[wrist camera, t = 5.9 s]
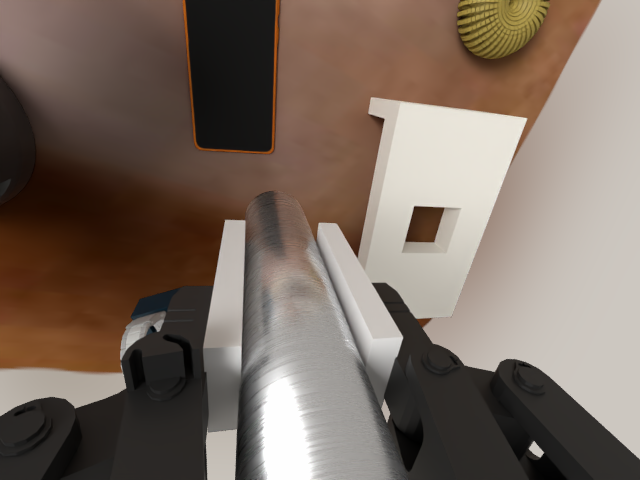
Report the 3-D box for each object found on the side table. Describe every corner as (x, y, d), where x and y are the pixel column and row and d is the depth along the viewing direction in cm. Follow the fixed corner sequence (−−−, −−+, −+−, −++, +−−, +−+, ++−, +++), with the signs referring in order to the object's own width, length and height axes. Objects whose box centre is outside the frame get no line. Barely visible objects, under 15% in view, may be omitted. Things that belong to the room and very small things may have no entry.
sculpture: (471, -43, 24) (568, -79, 24) (443, -27, 27) (528, -59, 28) (478, 71, 28) (561, 39, 28) (453, 71, 31) (527, 43, 32)
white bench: (338, 284, 40) (354, 320, 34) (370, 97, 31) (400, 102, 25) (423, 283, 43) (451, 317, 37) (477, 110, 34) (527, 118, 27)
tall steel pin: (244, 244, 16) (231, 616, 5) (245, 188, 15) (232, 526, 4) (301, 245, 17) (400, 576, 6) (307, 192, 16) (449, 486, 4)
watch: (163, 337, 39) (135, 422, 29) (132, 287, 35) (87, 365, 26) (208, 324, 39) (194, 404, 30) (182, 273, 36) (156, 345, 26)
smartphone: (195, 148, 30) (194, 150, 30) (177, -85, 23) (174, -90, 22) (274, 153, 32) (275, 155, 31) (281, -64, 25) (282, -68, 24)
